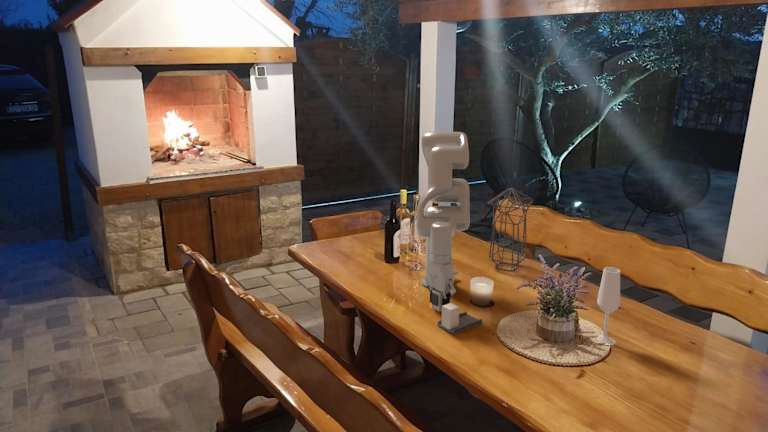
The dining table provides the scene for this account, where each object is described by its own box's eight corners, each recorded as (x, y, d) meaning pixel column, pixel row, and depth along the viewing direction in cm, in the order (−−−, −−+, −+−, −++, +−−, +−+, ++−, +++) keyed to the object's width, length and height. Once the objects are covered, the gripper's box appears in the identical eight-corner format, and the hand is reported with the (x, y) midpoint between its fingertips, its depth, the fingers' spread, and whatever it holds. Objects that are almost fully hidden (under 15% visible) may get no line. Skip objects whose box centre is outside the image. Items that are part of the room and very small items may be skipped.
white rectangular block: (440, 305, 211) (440, 287, 209) (447, 308, 208) (448, 290, 206) (430, 308, 208) (430, 290, 206) (437, 312, 205) (438, 293, 203)
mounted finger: (451, 321, 195) (452, 302, 194) (459, 325, 192) (460, 306, 190) (441, 325, 193) (441, 305, 191) (449, 329, 190) (450, 309, 188)
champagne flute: (615, 337, 186) (623, 267, 179) (616, 347, 180) (624, 274, 173) (593, 334, 188) (600, 265, 181) (593, 344, 182) (600, 272, 175)
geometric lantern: (530, 265, 250) (536, 186, 240) (517, 277, 237) (523, 195, 227) (496, 258, 258) (500, 181, 248) (482, 269, 245) (485, 189, 235)
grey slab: (465, 315, 202) (465, 311, 202) (482, 323, 196) (482, 319, 195) (437, 325, 195) (437, 321, 194) (453, 334, 188) (453, 330, 188)
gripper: (416, 252, 207) (416, 299, 212) (449, 266, 194) (448, 315, 199) (432, 248, 212) (431, 294, 217) (465, 261, 198) (464, 310, 203)
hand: (439, 304), depth 208 cm, fingers open, 5 cm apart
